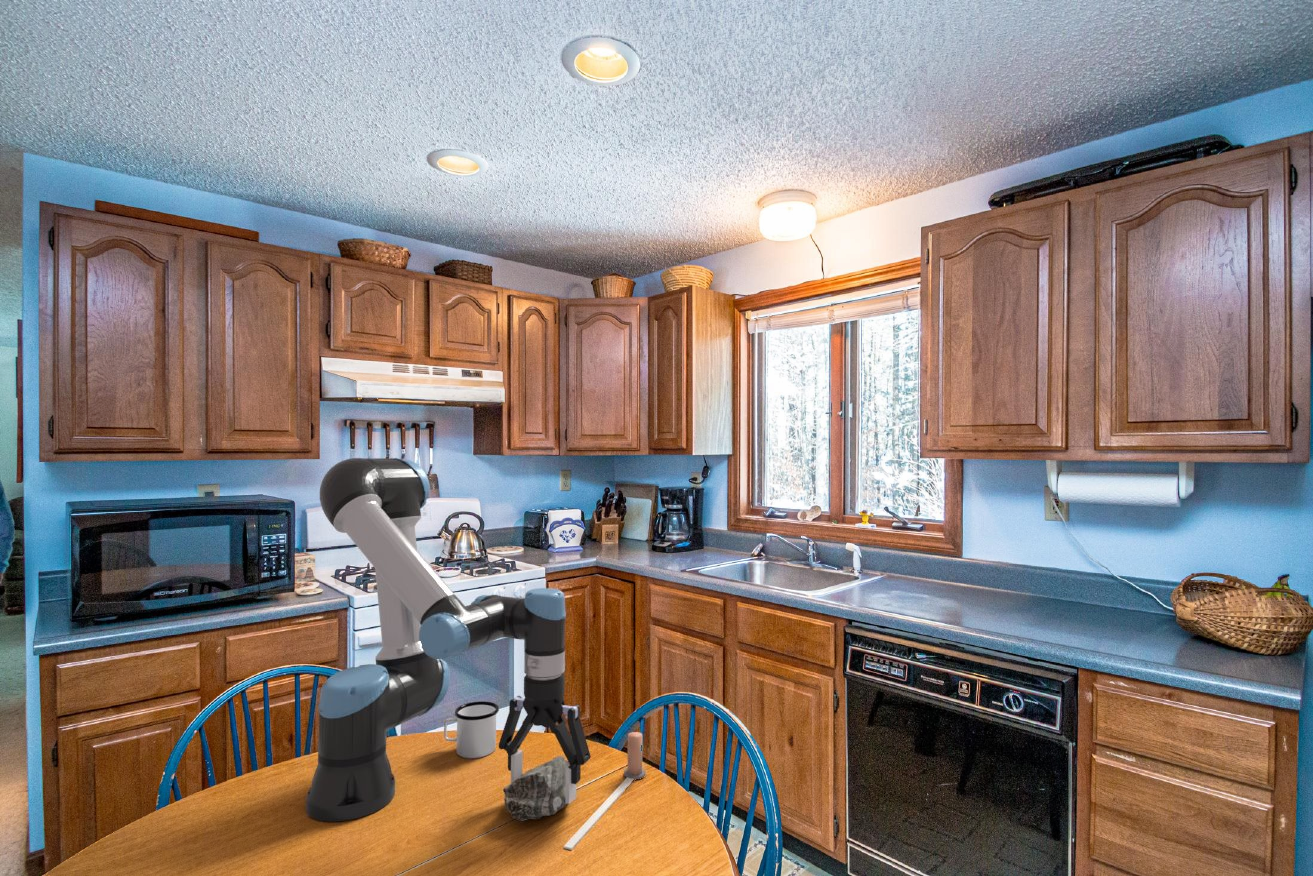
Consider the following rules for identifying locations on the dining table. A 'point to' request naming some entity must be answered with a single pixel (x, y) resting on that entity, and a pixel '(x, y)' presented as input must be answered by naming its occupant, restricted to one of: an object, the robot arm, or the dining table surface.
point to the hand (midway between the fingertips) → (543, 794)
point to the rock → (538, 791)
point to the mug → (475, 729)
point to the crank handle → (630, 773)
